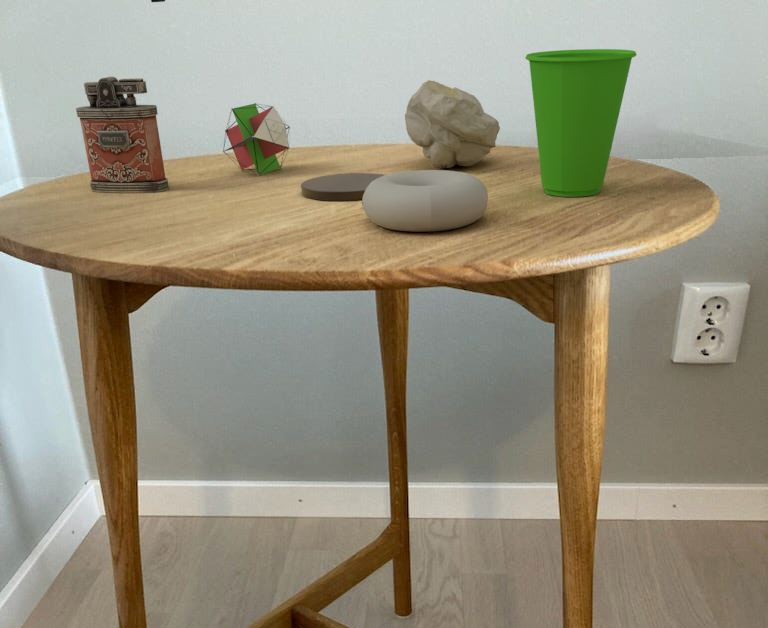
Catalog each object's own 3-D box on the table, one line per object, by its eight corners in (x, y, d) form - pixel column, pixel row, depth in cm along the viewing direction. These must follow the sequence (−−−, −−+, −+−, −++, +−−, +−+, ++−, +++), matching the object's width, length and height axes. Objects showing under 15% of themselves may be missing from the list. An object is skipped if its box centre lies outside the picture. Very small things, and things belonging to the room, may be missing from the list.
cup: (637, 184, 82) (650, 48, 77) (604, 205, 76) (615, 57, 70) (543, 179, 86) (549, 49, 81) (504, 197, 80) (508, 57, 74)
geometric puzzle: (196, 153, 94) (226, 85, 89) (235, 142, 100) (266, 78, 94) (247, 199, 94) (280, 135, 89) (283, 186, 99) (316, 124, 94)
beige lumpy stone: (468, 153, 102) (387, 171, 99) (459, 71, 98) (375, 88, 95) (526, 159, 92) (439, 179, 89) (520, 68, 88) (428, 86, 85)
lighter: (84, 192, 90) (62, 80, 85) (101, 185, 93) (81, 76, 88) (159, 192, 88) (142, 78, 83) (174, 185, 91) (158, 74, 86)
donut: (455, 205, 79) (346, 215, 76) (456, 162, 77) (344, 172, 74) (509, 228, 71) (389, 242, 68) (512, 182, 69) (388, 193, 66)
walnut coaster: (297, 202, 81) (296, 193, 81) (306, 183, 89) (305, 174, 89) (397, 198, 81) (397, 189, 81) (397, 180, 89) (397, 171, 89)
